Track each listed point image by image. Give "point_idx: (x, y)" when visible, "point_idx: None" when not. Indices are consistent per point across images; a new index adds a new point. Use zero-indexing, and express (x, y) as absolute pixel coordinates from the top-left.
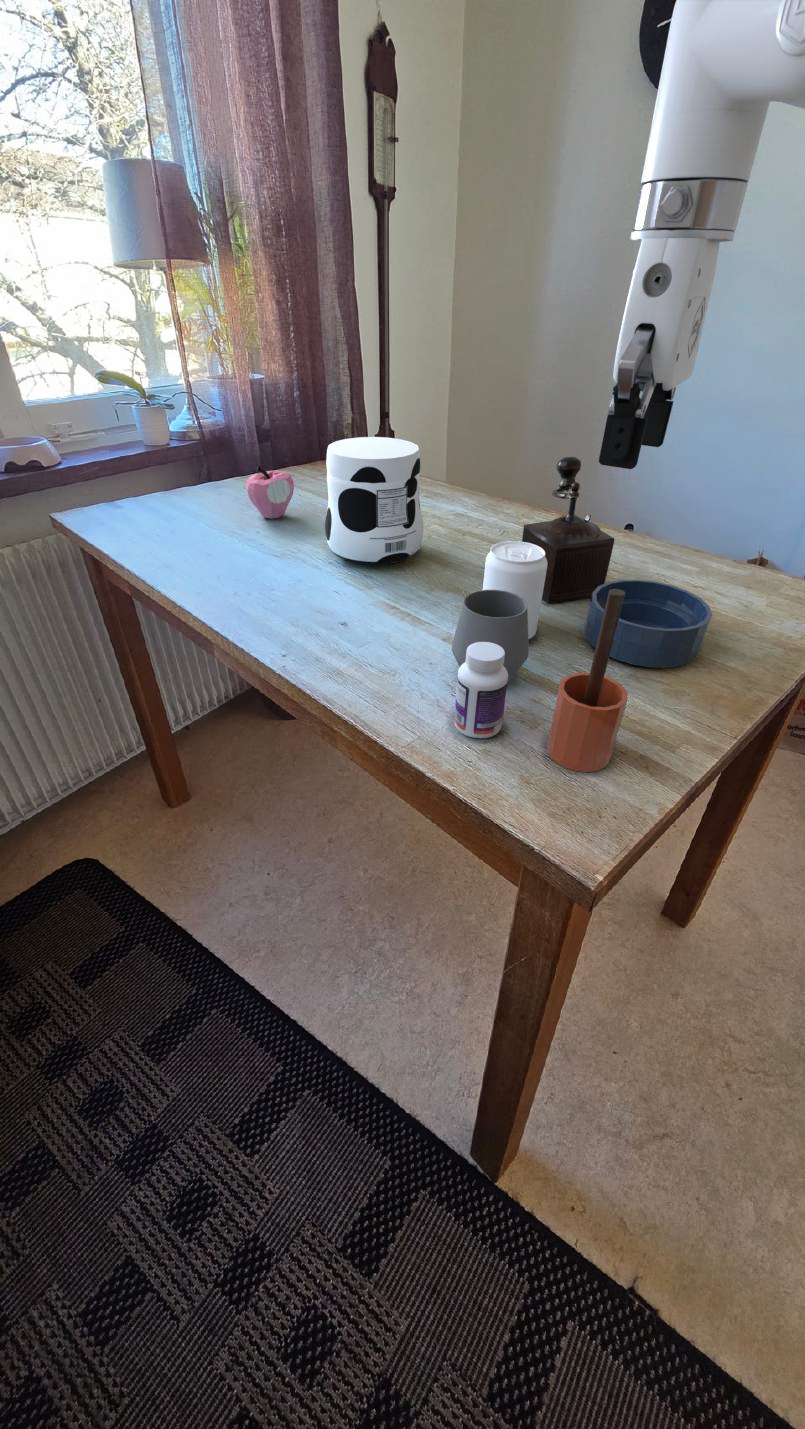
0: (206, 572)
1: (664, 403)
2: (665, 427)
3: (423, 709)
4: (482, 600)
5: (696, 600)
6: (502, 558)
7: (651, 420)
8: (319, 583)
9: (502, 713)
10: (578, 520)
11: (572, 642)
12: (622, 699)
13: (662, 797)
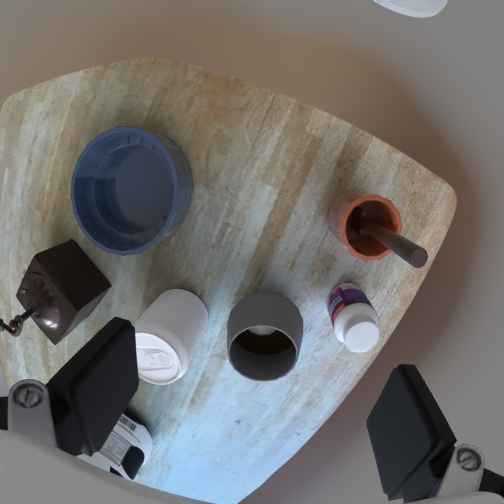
0: (216, 486)
1: (79, 405)
2: (105, 345)
3: (336, 342)
4: (237, 363)
5: (91, 147)
6: (180, 372)
7: (107, 390)
8: (188, 445)
9: (354, 289)
10: (33, 300)
11: (170, 251)
12: (378, 199)
13: (381, 149)
